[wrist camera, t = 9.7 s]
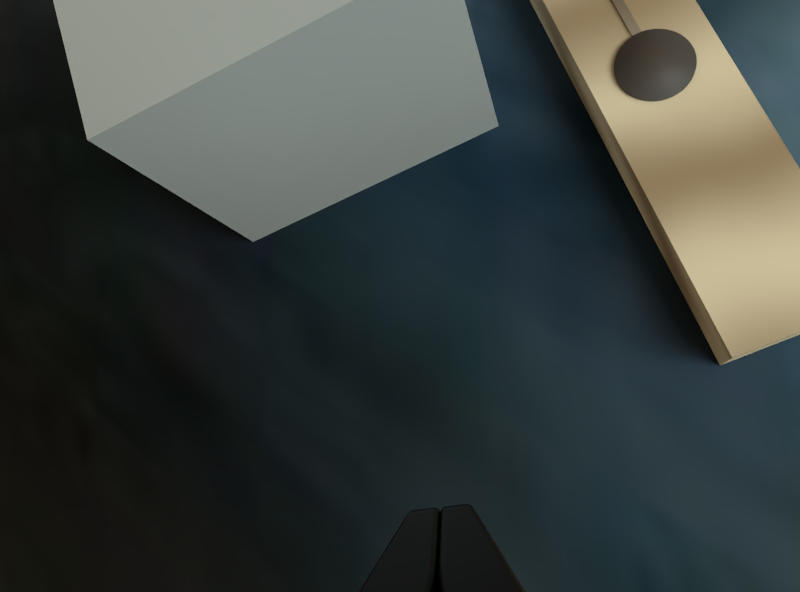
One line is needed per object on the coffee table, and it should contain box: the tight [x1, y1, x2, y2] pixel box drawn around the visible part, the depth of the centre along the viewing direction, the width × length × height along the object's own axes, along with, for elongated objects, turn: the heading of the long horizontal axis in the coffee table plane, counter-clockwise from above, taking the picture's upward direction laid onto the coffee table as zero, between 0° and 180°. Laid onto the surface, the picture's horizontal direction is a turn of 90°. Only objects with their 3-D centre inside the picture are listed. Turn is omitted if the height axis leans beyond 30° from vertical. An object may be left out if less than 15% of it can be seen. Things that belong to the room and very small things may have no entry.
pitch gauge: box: [530, 0, 800, 365], centre depth 22 cm, size 22×4×2 cm, turn 21°
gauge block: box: [53, 0, 498, 242], centre depth 21 cm, size 8×10×9 cm
